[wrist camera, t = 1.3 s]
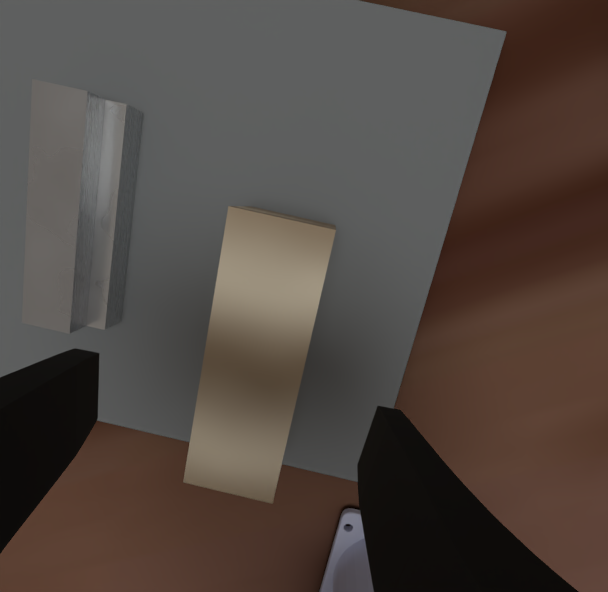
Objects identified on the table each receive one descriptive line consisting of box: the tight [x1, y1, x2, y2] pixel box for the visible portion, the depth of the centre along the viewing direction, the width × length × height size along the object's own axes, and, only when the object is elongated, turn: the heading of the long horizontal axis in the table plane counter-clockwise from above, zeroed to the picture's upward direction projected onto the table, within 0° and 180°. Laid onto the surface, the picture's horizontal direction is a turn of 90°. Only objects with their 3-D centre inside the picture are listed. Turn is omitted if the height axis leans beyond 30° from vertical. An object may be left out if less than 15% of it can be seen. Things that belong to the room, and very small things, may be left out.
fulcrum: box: [22, 79, 144, 334], centre depth 17 cm, size 10×4×3 cm, turn 168°
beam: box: [183, 206, 336, 504], centre depth 17 cm, size 12×4×4 cm, turn 168°
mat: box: [0, 0, 506, 482], centre depth 19 cm, size 22×24×1 cm
